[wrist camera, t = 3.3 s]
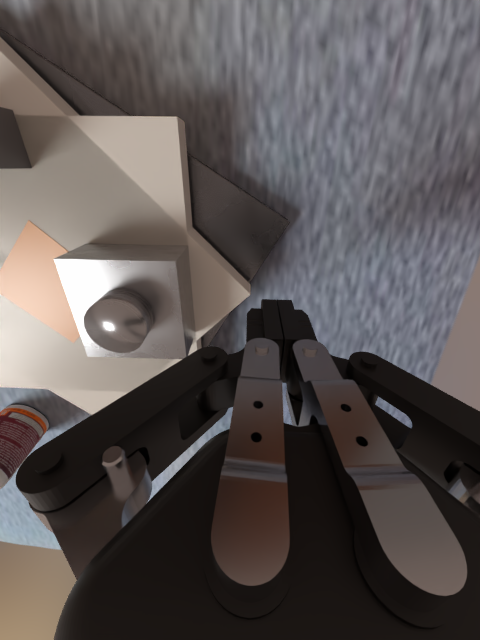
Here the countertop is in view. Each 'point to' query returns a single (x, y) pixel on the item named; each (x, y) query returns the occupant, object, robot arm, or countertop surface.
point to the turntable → (87, 231)
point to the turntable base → (205, 185)
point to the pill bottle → (18, 437)
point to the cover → (130, 299)
